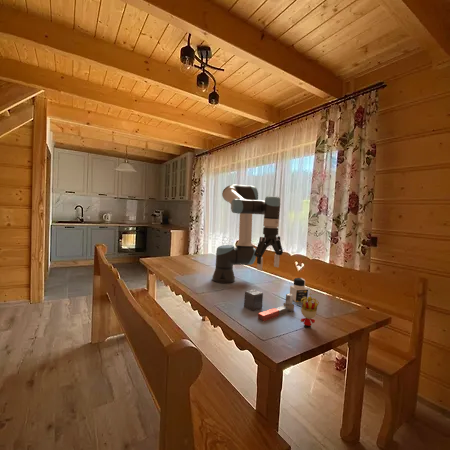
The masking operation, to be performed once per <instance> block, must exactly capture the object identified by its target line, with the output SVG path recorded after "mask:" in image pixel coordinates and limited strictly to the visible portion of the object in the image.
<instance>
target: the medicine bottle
mask: <svg viewBox="0 0 450 450" xmlns="http://www.w3.org/2000/svg"><path fill="white" fill-rule="evenodd" d="M305 286H306V280H305V278H303V277H296V278H294V279H293V285H290V286H289V294H292V295H293V301H294V302H295V303H301V299H302V298H303V297H307V298H308V297H309V296H308V295H309V289H308V288H307V287H305ZM305 299H306V298H305ZM306 302H308V301H306ZM302 303H303V300H302Z"/></svg>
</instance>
